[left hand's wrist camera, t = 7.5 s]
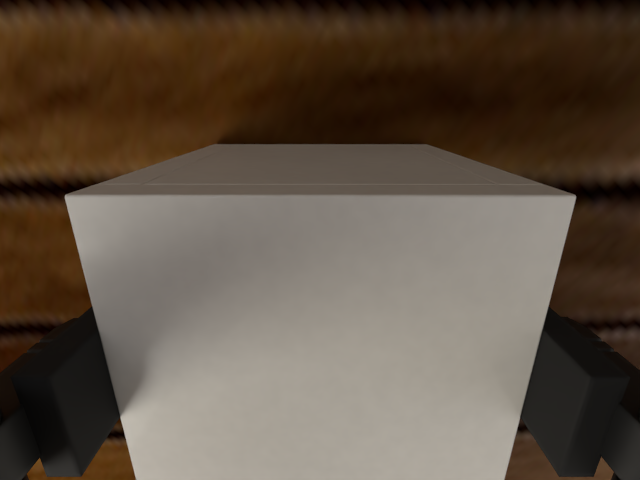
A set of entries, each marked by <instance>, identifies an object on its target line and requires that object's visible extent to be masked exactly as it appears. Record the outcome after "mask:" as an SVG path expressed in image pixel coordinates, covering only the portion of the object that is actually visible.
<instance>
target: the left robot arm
mask: <svg viewBox="0 0 640 480" xmlns="http://www.w3.org/2000/svg"><path fill="white" fill-rule="evenodd" d="M520 417H521V419H522V420H523V422H524V423H525V425H526V426H527V428H528V429H529V431H530V432H531V434H532V435H533V437H534V439H535V440H536V442H537V443H538V445H539V446H540V448H541V449H542V451H543V452H544V454H545V455H546V457H547V459H548V460H549V462H550V463H551V465H552V466H553V468H554V469H555V471H556V472H557V474H558V475H559V477H594V474H595V471H596V469H597V466H598V463H599V461H600V458H601V456H602V458H603V459H604V460H605V461H606V463H607V464H608V465H609V466H610V467H611V469H612V470H613V471H614V474H613V476H612V479H611V480H640V370H638V369H637V368H636V367H635V366H633V365H632V364H631V363H630V362H629V361H627V360H626V359H625V358H624V357H622V356H621V355H620V354H619V353H618V352H614V349H613V348H611V347H610V346H609V345H608V344H607V343H605V342H602V341H601V339H600V338H599V337H598V336H597V335H596V334H594V333H593V332H592V331H591V330H589V329H588V328H587V327H585V326H583V325H581V324H580V323H578V322H576V321H574V320H572V319H570V318H568V317H560V316H559V315H558V314H557V313H555V312H554V311H553V310H552V309H551V308H550V307H549V306H548V310H547V314H546V318H545V322H544V326H543V330H542V334H541V338H540V342H539V346H538V350H537V354H536V357H535V361H534V365H533V369H532V373H531V377H530V381H529V385H528V389H527V393H526V397H525V401H524V405H523V409H522V412H521V416H520ZM119 418H120V413H119V409H118V405H117V401H116V398H115V394H114V390H113V386H112V382H111V378H110V374H109V370H108V366H107V362H106V358H105V354H104V350H103V346H102V342H101V338H100V334H99V330H98V327H97V323H96V319H95V315H94V311H93V307H91V308H90V309H88V310H87V311H86V312H85V313H84V314H83V315H82V316H80V317H79V318H73V319H71V320H69V321H67V322H66V323H64V324H62V325H60V326H58V327H56V328H54V329H53V330H52V331H51V332H49V333H48V334H47V335H46V336H44V337H43V338H42V339H41V340H40V342H39V343H36V344H35V345H34V346H32V347H31V348H30V349H29V350H27V353H24V354H23V355H21V356H20V357H19V358H18V359H17V360H15V361H14V362H13V363H12V364H10V365H9V366H8V367H7V368H6V369H4V370H3V371H2V372H1V373H0V480H29V479H28V476H27V473H28V471H29V470H30V469H31V468H32V466H33V465H34V464H35V463H36V461H37V460H38V459H39V458H40V459H41V462H42V465H43V467H44V470H45V473H46V475H47V477H81V476H82V475H83V473H84V471H85V470H86V468H87V467H88V465H89V464H90V462H91V461H92V459H93V458H94V456H95V455H96V453H97V451H98V450H99V448H100V447H101V445H102V444H103V442H104V441H105V439H106V438H107V436H108V435H109V433H110V432H111V430H112V428H113V427H114V425H115V424H116V422H117V421H118V419H119Z"/></svg>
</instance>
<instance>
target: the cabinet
mask: <svg viewBox="0 0 640 480" xmlns="http://www.w3.org/2000/svg"><path fill="white" fill-rule="evenodd" d="M65 200H66V204H67V208H68V212H69V216H70V220H71V224H72V228H73V232H74V236H75V240H76V244H77V248H78V252H79V255H80V259H81V263H82V267H83V271H84V275H85V279H86V283H87V287H88V291H89V295H90V299H91V303H92V307H93V311H94V315H95V319H96V323H97V327H98V330H99V334H100V338H101V342H102V346H103V350H104V354H105V358H106V362H107V366H108V370H109V374H110V378H111V382H112V386H113V390H114V394H115V398H116V401H117V405H118V409H119V413H120V417H121V421H122V425H123V429H124V433H125V437H126V441H127V445H128V449H129V453H130V457H131V461H132V465H133V469H134V473H135V476H136V480H504V479H505V475H506V471H507V467H508V464H509V460H510V456H511V452H512V448H513V444H514V440H515V436H516V432H517V428H518V424H519V420H520V416H521V412H522V409H523V405H524V401H525V397H526V393H527V389H528V385H529V381H530V377H531V373H532V369H533V365H534V361H535V357H536V354H537V350H538V346H539V342H540V338H541V334H542V330H543V326H544V322H545V318H546V314H547V310H548V306H549V302H550V299H551V295H552V291H553V287H554V283H555V279H556V275H557V271H558V267H559V263H560V259H561V255H562V251H563V247H564V244H565V240H566V236H567V232H568V228H569V224H570V220H571V216H572V212H573V208H574V204H575V200H576V195H574V194H571V193H568V192H565V191H562V190H559V189H556V188H553V187H550V186H548V185H544V184H541V183H538V182H536V181H533V180H530V179H527V178H524V177H521V176H518V175H515V174H512V173H509V172H506V171H503V170H501V169H498V168H495V167H492V166H489V165H486V164H483V163H480V162H477V161H474V160H471V159H468V158H466V157H463V156H460V155H457V154H454V153H451V152H448V151H445V150H442V149H439V148H436V147H433V146H430V145H427V144H214V145H211V146H208V147H205V148H202V149H199V150H196V151H193V152H190V153H187V154H184V155H181V156H178V157H175V158H172V159H170V160H167V161H164V162H161V163H158V164H155V165H152V166H149V167H146V168H143V169H140V170H137V171H134V172H131V173H129V174H126V175H123V176H120V177H117V178H114V179H111V180H108V181H105V182H102V183H99V184H96V185H93V186H90V187H87V188H84V189H81V190H78V191H75V192H72V193H69V194H67V195H65Z"/></svg>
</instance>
